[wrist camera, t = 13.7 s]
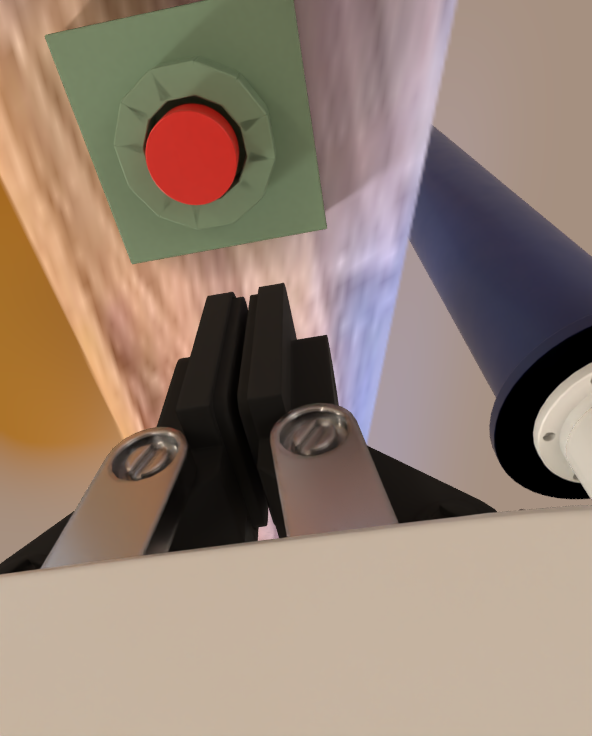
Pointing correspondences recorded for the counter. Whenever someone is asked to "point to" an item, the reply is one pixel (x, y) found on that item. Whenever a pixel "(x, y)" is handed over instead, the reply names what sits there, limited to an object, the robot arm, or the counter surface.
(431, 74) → the counter surface
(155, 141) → the button
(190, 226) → the button box
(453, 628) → the robot arm
